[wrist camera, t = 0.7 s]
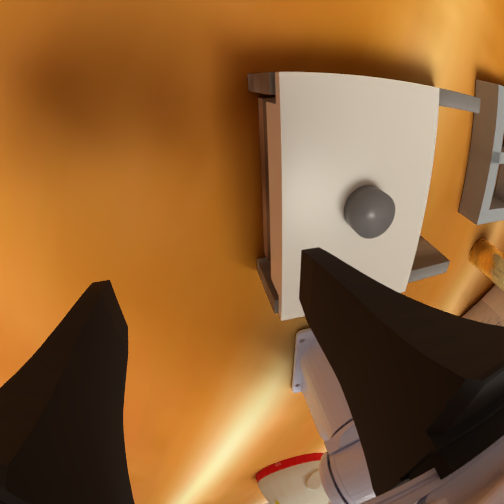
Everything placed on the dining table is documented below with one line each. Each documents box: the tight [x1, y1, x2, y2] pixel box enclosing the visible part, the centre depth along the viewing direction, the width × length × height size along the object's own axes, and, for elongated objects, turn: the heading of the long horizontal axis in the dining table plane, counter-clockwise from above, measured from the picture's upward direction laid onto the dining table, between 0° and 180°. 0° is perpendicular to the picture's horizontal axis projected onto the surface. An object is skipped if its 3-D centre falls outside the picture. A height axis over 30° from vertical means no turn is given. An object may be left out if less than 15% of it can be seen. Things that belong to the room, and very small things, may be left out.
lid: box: [266, 72, 440, 321], centre depth 15 cm, size 13×9×3 cm
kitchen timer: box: [256, 453, 329, 504], centre depth 41 cm, size 14×14×15 cm
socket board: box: [458, 79, 504, 225], centre depth 20 cm, size 12×7×2 cm, turn 2°
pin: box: [469, 238, 504, 292], centre depth 24 cm, size 3×3×6 cm
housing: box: [248, 72, 481, 313], centre depth 17 cm, size 13×14×4 cm
